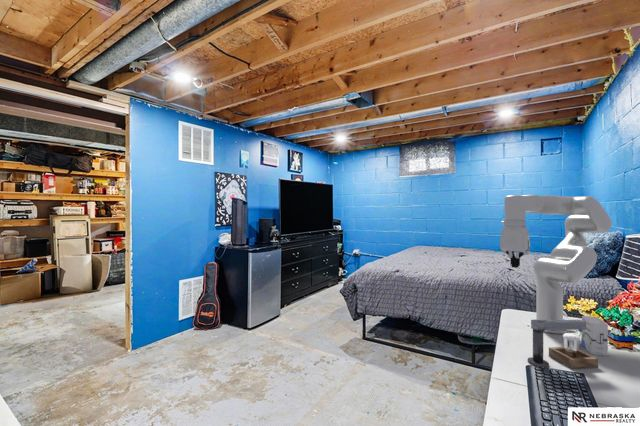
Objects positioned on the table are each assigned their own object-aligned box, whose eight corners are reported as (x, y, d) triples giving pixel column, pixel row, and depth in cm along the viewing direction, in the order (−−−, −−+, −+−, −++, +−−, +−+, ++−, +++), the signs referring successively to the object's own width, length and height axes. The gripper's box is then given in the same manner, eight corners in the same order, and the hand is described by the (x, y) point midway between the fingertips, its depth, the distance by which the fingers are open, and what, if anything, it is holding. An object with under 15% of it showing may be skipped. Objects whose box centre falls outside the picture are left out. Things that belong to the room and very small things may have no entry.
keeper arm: (536, 331, 103) (536, 323, 103) (528, 326, 107) (528, 319, 107) (588, 330, 103) (588, 323, 103) (578, 325, 107) (578, 318, 107)
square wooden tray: (572, 354, 111) (572, 346, 111) (598, 367, 102) (598, 358, 102) (548, 355, 111) (548, 347, 111) (572, 369, 101) (572, 360, 101)
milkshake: (585, 364, 103) (585, 334, 103) (567, 362, 105) (567, 333, 104) (577, 357, 108) (577, 329, 108) (560, 356, 109) (560, 328, 109)
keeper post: (539, 358, 108) (539, 325, 108) (553, 367, 102) (553, 332, 102) (523, 359, 108) (523, 326, 108) (536, 368, 102) (536, 333, 102)
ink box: (580, 344, 120) (580, 314, 120) (596, 346, 118) (596, 316, 118) (591, 354, 112) (591, 322, 112) (608, 356, 110) (608, 324, 110)
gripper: (492, 224, 133) (492, 265, 133) (531, 225, 121) (532, 270, 121) (499, 223, 137) (500, 263, 138) (538, 224, 125) (539, 268, 126)
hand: (515, 267), depth 129 cm, fingers closed
